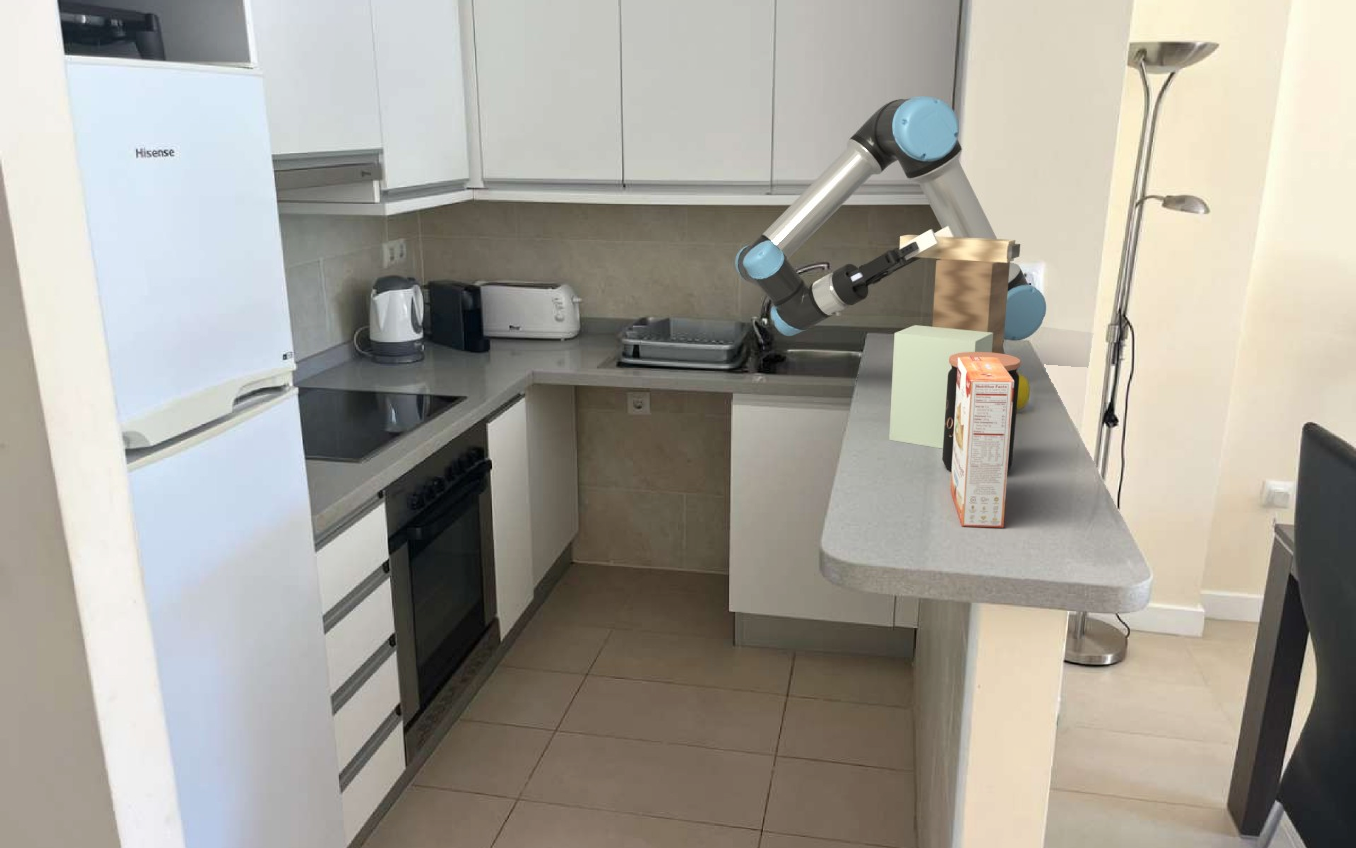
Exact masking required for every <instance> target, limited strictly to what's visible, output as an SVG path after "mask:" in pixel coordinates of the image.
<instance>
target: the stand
mask: <svg viewBox="0 0 1356 848" xmlns="http://www.w3.org/2000/svg"><path fill="white" fill-rule="evenodd" d="M1009 268H1010V262H1007V263H1005V262H988V261H972V260H955V259H937V260H936V263H935V275H934V278H935V279H934V280H935V281H934V292H933V293H934V294H933V309H932V310H933V311H932V325H931V327H939V328H949V329H960V330H970V331H980V332H991V333H993V342H992V353H1000V354H1003V348H1004V330H1005V317H1006V305H1007V292H1008V280H1009Z"/></svg>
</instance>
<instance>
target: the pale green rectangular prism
mask: <svg viewBox="0 0 1356 848" xmlns="http://www.w3.org/2000/svg"><path fill="white" fill-rule="evenodd" d="M893 337H894V339H893V356H892V357H893V358H892V373H891V374H892V375H891V376H892V377H891V380H892V381H891V398H890V399H891V400H890V416H889V435H888V436H889V437H888V440H889V441H893V442H894V441H895V442H900V443H906V444H912V445H919V446H925V447H931V448H936V449H941V450H943V440H944V425H945V410H946V395H947V380H948V373H949V371H950V370H951V369H952V366H951V364H950V363H949V357H950V356H951V355H954V354H957V353H963V352H991V353H992V342H993V333H991V332H980V331H970V330H960V329H949V328H939V327H932V326H929V325H916V324H914V325H912V326H911V325H910V326H909V327H906V328H904V329H901V330H900V331H899V330H898V331H896V332H894V336H893Z"/></svg>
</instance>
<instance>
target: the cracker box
mask: <svg viewBox="0 0 1356 848" xmlns="http://www.w3.org/2000/svg"><path fill="white" fill-rule="evenodd" d="M1013 393H1014V380H1013V379H1012V377H1011V376H1010V374H1009V373H1008V372H1007V370H1006V369H1005V368H1004V366H1003V365H1002V364H1001V362H1000V361H999V359H998V358H994V357H958V366H957V385H956V404H955V420H954V439H953V456H952V472H950V474H951V476H950V494H951V497H952V499H953V502H954V505H955V508H956V512H957V515H958V518H959V522H960V524H961V526H962V527H970V528H971V527H973V528H975V527H977V528H978V527H979V528H980V527H981V528H1000V529H1002V528H1004V523H1005V511H1006V509H1005V508H1006V494H1007V481H1008V471H1007V469H1008V457H1009V443H1010V430H1011V418H1012V406H1013Z"/></svg>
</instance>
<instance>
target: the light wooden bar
mask: <svg viewBox="0 0 1356 848" xmlns="http://www.w3.org/2000/svg"><path fill="white" fill-rule="evenodd" d="M919 235H920V234H919ZM919 235H918V234H917V235H916V234H905V235H900V237H899V249H901V248H900V246H901V245H903V244H905V243H907V242H909V241H910V240H912V239H914V238H916V237H918V236H919ZM936 238H937V240H938V243H937V244H935V245H934V246H932V247H930V248H928V249H926V250H924V251H922V252H921V253H919V254H917V255H915V256H913V257H922V258H924V259H925V258H927V259H938V260H940V259H955V260H972V261H988V262H1005V263H1007V262H1011V263H1012V262H1014V260H1015V258H1019V257H1020V252H1021V244H1020V243H1016V239H1004V238H1003V239H1002V238H997V239H985V238H964V237H943V236H936ZM922 258H921V259H922Z"/></svg>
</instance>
